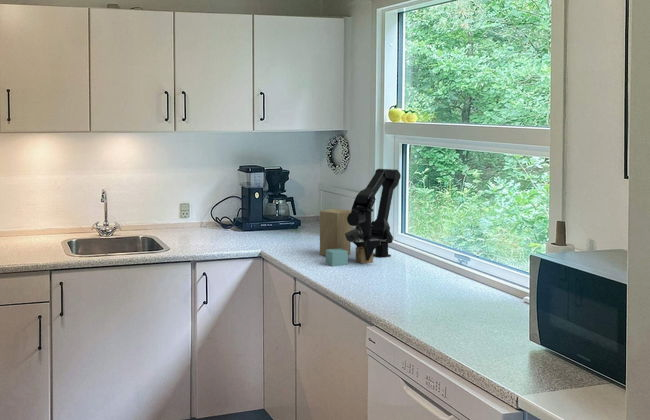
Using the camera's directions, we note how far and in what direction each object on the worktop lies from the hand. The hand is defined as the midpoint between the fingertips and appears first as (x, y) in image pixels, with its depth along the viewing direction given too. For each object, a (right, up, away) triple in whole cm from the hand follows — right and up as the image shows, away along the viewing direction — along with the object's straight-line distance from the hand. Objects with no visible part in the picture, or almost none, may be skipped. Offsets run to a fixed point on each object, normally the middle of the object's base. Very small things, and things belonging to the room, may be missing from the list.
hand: (364, 259), depth 346 cm
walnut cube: (0, -1, 0) cm, 1 cm away
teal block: (-12, -2, -5) cm, 13 cm away
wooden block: (-12, +1, +15) cm, 20 cm away
